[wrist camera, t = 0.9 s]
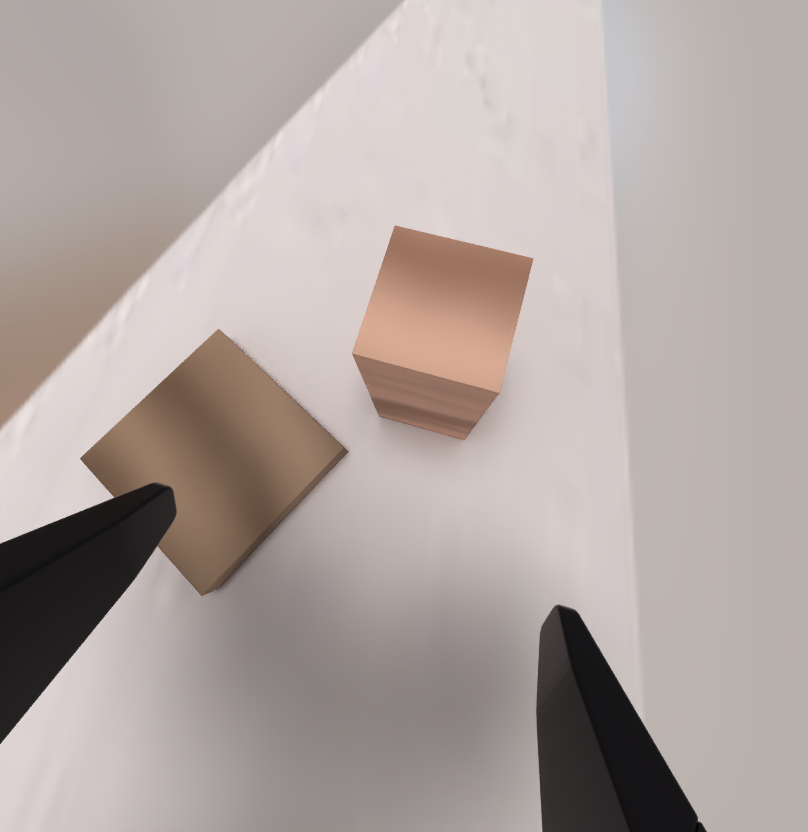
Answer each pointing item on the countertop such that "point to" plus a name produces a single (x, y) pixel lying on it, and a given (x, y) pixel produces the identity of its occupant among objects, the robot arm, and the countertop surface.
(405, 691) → the countertop surface
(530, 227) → the countertop surface
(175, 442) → the base board
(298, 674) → the countertop surface
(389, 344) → the pillar
